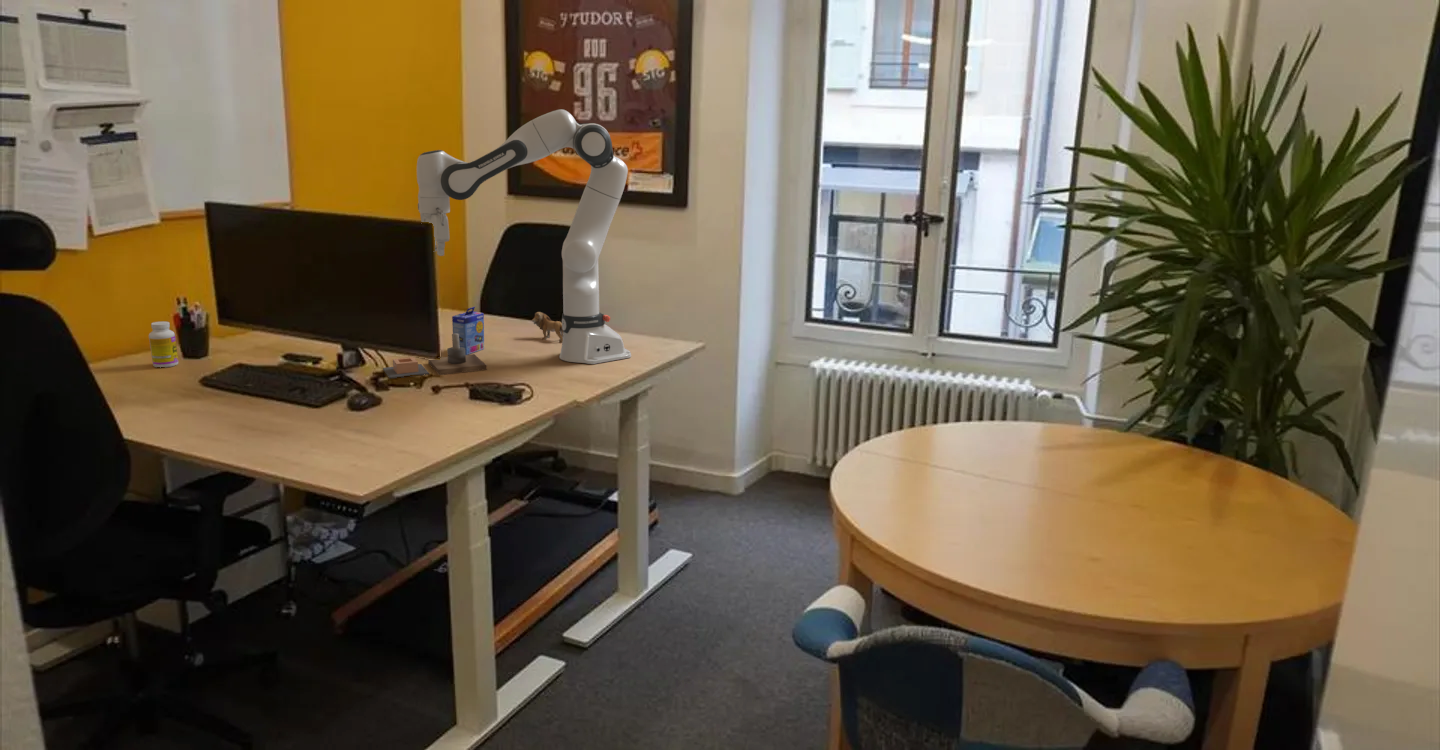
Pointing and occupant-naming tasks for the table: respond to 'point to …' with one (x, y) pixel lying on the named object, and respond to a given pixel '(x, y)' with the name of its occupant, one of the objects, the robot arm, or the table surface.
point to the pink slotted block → (405, 365)
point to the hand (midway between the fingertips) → (437, 253)
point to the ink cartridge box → (469, 330)
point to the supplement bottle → (163, 345)
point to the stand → (457, 360)
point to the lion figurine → (548, 325)
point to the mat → (393, 374)
